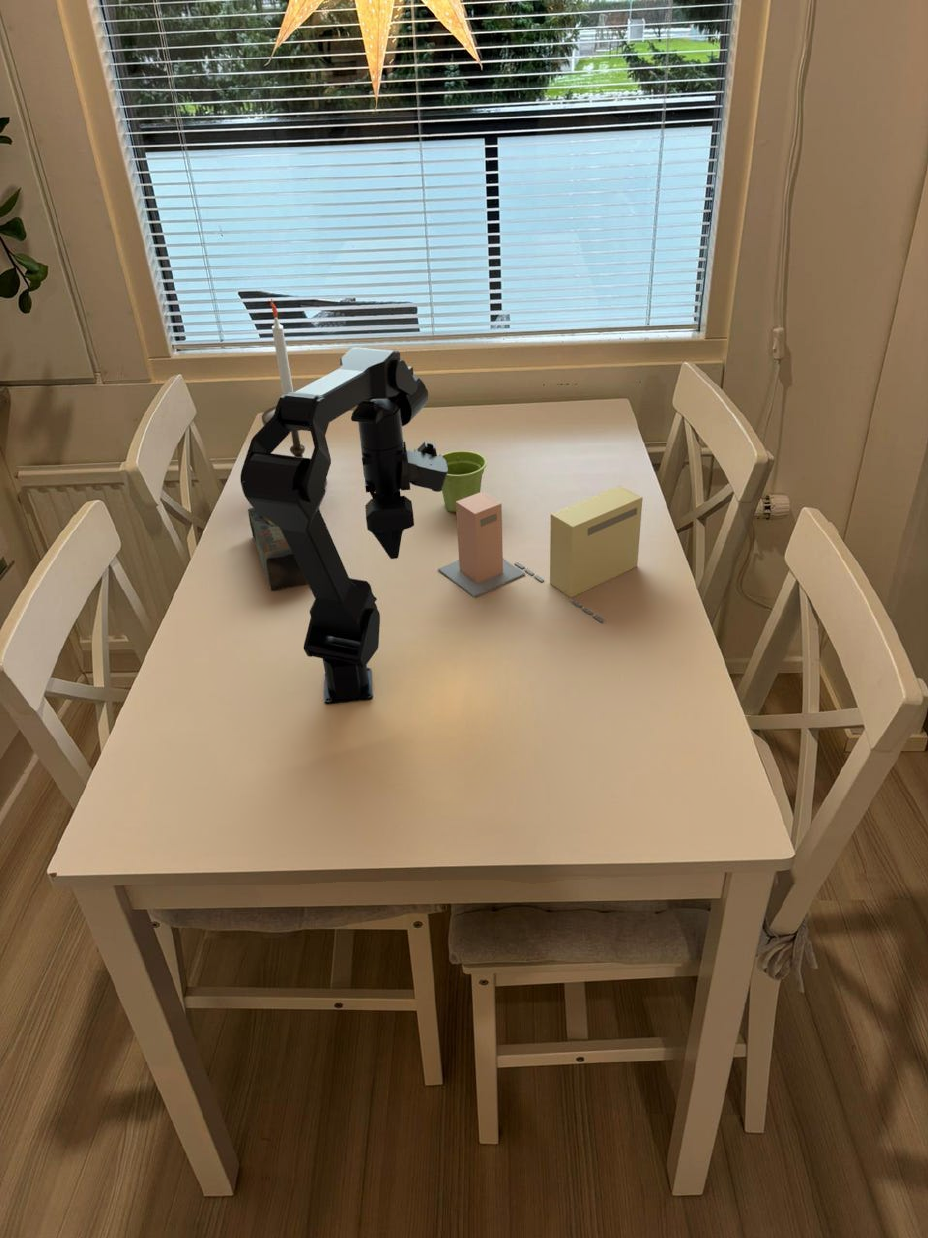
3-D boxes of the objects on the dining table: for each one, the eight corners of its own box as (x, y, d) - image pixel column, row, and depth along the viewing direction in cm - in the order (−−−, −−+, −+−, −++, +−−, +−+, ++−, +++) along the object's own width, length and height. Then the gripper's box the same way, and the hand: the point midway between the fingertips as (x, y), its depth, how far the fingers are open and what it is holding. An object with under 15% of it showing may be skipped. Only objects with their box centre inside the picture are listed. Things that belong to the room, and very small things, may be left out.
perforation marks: (601, 622, 137) (601, 621, 137) (514, 564, 151) (514, 563, 151) (604, 621, 137) (604, 620, 137) (517, 562, 151) (517, 561, 151)
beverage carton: (297, 528, 164) (291, 495, 160) (320, 583, 149) (314, 549, 145) (252, 537, 162) (245, 504, 158) (271, 595, 147) (264, 559, 144)
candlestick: (268, 479, 179) (234, 296, 159) (322, 467, 183) (295, 286, 162) (283, 503, 171) (248, 313, 151) (339, 490, 174) (312, 302, 154)
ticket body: (571, 597, 142) (572, 527, 135) (549, 583, 146) (550, 513, 139) (637, 566, 149) (642, 497, 141) (615, 553, 152) (619, 485, 145)
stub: (478, 583, 146) (475, 513, 139) (459, 569, 150) (455, 501, 142) (503, 572, 148) (501, 503, 141) (484, 559, 152) (481, 491, 145)
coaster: (474, 597, 144) (474, 595, 144) (438, 570, 150) (438, 568, 150) (524, 574, 148) (524, 573, 148) (487, 549, 155) (487, 547, 155)
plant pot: (496, 511, 165) (495, 467, 160) (447, 523, 163) (444, 479, 158) (476, 489, 172) (474, 446, 167) (428, 500, 170) (425, 457, 165)
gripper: (448, 466, 117) (455, 570, 126) (435, 408, 132) (442, 504, 141) (360, 475, 116) (373, 579, 125) (357, 415, 131) (369, 511, 141)
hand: (392, 541), depth 133 cm, fingers open, 9 cm apart
